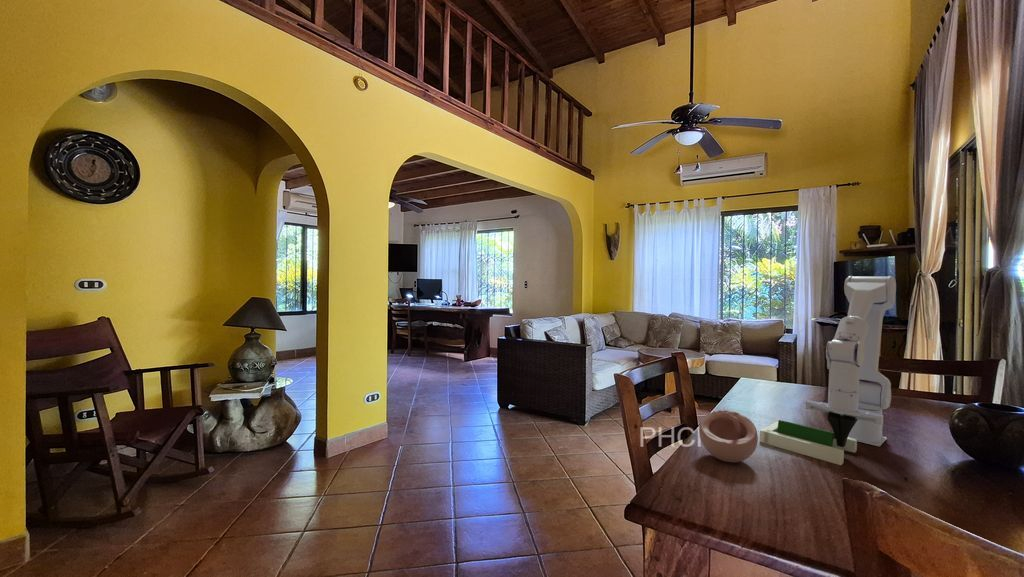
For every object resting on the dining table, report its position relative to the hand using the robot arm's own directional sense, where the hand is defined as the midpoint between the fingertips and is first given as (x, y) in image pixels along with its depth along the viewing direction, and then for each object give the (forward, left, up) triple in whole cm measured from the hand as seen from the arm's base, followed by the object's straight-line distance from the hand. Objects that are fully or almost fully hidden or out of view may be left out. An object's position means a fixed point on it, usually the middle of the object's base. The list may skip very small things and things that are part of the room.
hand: (841, 445), depth 100 cm
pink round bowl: (+26, -15, -3) cm, 30 cm away
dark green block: (+1, -7, -3) cm, 7 cm away
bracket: (0, -6, -2) cm, 7 cm away
